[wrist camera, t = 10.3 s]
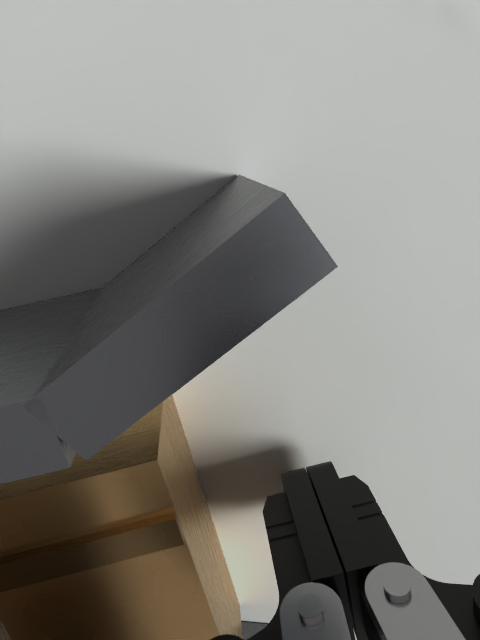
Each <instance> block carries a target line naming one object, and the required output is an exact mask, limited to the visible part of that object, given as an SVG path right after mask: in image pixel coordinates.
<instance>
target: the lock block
mask: <svg viewBox="0 0 480 640" xmlns="http://www.w3.org/2000/svg"><path fill="white" fill-rule="evenodd" d="M0 620H1V622H2V624H3V625H4V627H5V629H6V631H7V633H8V634H9V636H10V638H11V640H210V639H212V638H214V637H216V636H219V635H224V634H231V635H236V636H238V637H241V638H242V639H243V633H242V624H241V615H240V606H239V602H238V598H237V595H236V592H235V589H234V586H233V583H232V580H231V577H230V573H229V570H228V567H227V564H226V561H225V558H224V555H223V552H222V549H221V545H220V542H219V539H218V536H217V533H216V530H215V527H214V524H213V521H212V517H211V514H210V511H209V508H208V505H207V502H206V499H205V496H204V493H203V489H202V486H201V483H200V480H199V477H198V474H197V471H196V468H195V464H194V461H193V458H192V455H191V452H190V449H189V446H188V443H187V440H186V436H185V433H184V430H183V427H182V424H181V421H180V418H179V415H178V412H177V408H176V405H175V402H174V399H173V396H172V395H171V396H169V397H168V398H167V399H166V400H164V401H163V402H162V403H160V404H159V405H158V406H157V407H155V408H154V409H153V410H151V411H150V412H149V413H147V414H146V415H145V416H144V417H142V418H141V419H140V420H138V421H137V422H136V423H134V424H133V425H132V426H131V427H129V428H128V429H127V430H125V431H124V432H123V433H122V434H120V435H119V436H118V437H116V438H115V439H114V440H112V441H111V442H110V443H109V444H107V445H106V446H105V447H103V448H102V449H101V450H99V451H98V452H97V453H96V454H94V455H93V456H92V457H90V458H89V459H88V460H87V461H86V460H85V459H84V458H83V457H81V456H80V455H79V454H78V453H77V452H76V454H75V456H74V459H73V462H72V464H71V467H70V468H67V469H63V470H59V471H55V472H50V473H46V474H42V475H38V476H33V477H29V478H25V479H21V480H17V481H12V482H8V483H4V484H0Z"/></svg>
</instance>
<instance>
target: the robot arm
mask: <svg viewBox="0 0 480 640" xmlns="http://www.w3.org/2000/svg"><path fill="white" fill-rule="evenodd" d="M306 470H307V472H306ZM281 479H282V484H283V488H284V492H283V493H279V494H275V495H271V496H267V499H266V502H265V506H264V509H263V515H264V520H265V525H266V530H267V535H268V540H269V545H270V550H271V555H272V560H273V565H274V570H275V575H276V579H277V584H278V589H279V605H278V609H277V611H276V614H275V615H274V617H273V619H272V620H271V621H270V623H269V624H268V625H267V626H266V627H265V628H263V629H262V630H261V631H259V632H258V633H256V634H255V635H253V636H252V637H250V638H249V639H247V640H355V635H354V631H355V634H356V637H357V640H480V574H479V575H478V576H477V577H476V579H475V580H474V583H473V585H463V584H449V583H442V582H438V581H435V580H432V579H429V578H428V577H426V576H424V575H422V574H421V573H420V572H419V571H417V570H416V569H415V568H414V567H413V566H412V565H411V564H410V563H409V561H408V559H407V558H406V556H405V554H404V552H403V550H402V548H401V547H400V545H399V543H398V541H397V539H396V537H395V535H394V533H393V532H392V530H391V528H390V526H389V524H388V522H387V520H386V519H385V517H384V515H383V514H382V511H381V509H380V507H379V506H378V504H377V503H376V500H375V498H374V496H373V494H372V493H371V491H370V489H369V487H368V485H366V484H365V483H364V482H362V481H361V480H360V479H358V478H357V477H356V476H355V475H352V476H348V477H344V478H340V479H339V477H338V475H337V472H336V470H335V468H334V466H333V464H332V462H331V461H330V462H326V463H321V464H317V465H313V466H309V467H306V469H305V468H301V469H297V470H293V471H289V472H285V473H281ZM353 628H354V630H353ZM210 640H244V639H242V638H241V637H238V636H236V635H231V634H224V635H219V636H216V637H214V638H212V639H210Z"/></svg>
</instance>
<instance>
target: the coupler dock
mask: <svg viewBox="0 0 480 640" xmlns="http://www.w3.org/2000/svg"><path fill="white" fill-rule="evenodd" d="M337 267H338V266H337V265H336V263H335V262H334V261H333V259H332V258H331V256H330V255H329V254H328V252H327V251H326V250H325V248H324V247H323V245H322V244H321V243H320V241H319V240H318V238H317V237H316V236H315V234H314V233H313V232H312V230H311V229H310V227H309V226H308V225H307V223H306V222H305V220H304V219H303V218H302V216H301V215H300V214H299V212H298V211H297V209H296V208H295V207H294V205H293V204H292V202H291V201H290V200H289V198H288V197H287V196H286V194H285V193H283V192H281V191H278V190H276V189H273V188H271V187H268V186H266V185H263V184H261V183H258V182H256V181H253V180H251V179H248V178H246V177H244V176H241V175H238V176H237V177H235V178H234V179H233V180H232V181H231V182H229V183H228V184H227V185H226V186H225V187H223V188H222V189H221V190H220V191H219V192H217V193H216V194H215V195H214V196H213V197H211V198H210V199H209V200H208V201H207V202H205V203H204V204H203V205H202V206H201V207H199V208H198V209H197V210H196V211H195V212H193V213H192V214H191V215H190V216H189V217H187V218H186V219H185V220H184V221H183V222H181V223H180V224H179V225H178V226H177V227H175V228H174V229H173V230H172V231H171V232H169V233H168V234H167V235H166V236H165V237H163V238H162V239H161V240H160V241H159V242H157V243H156V244H155V245H154V246H153V247H151V248H150V249H149V250H148V251H147V252H145V253H144V254H143V255H142V256H141V257H139V258H138V259H137V260H136V261H135V262H134V263H132V264H131V265H130V266H129V267H128V268H126V269H125V270H124V271H123V272H122V273H120V274H119V275H118V276H117V277H116V278H114V279H113V280H112V281H111V282H110V283H108V284H107V285H106V286H105V287H104V288H100V289H95V290H91V291H87V292H82V293H78V294H73V295H69V296H64V297H60V298H56V299H51V300H47V301H42V302H38V303H33V304H29V305H25V306H20V307H16V308H11V309H7V310H2V311H0V484H4V483H8V482H12V481H17V480H21V479H25V478H29V477H33V476H38V475H42V474H46V473H50V472H55V471H59V470H63V469H67V468H70V467H71V464H72V462H73V459H74V456H75V454H76V452H77V453H78V454H79V455H80V456H81V457H83V458H84V459H85V460H86V461H87V460H88V459H89V458H90V457H92V456H93V455H94V454H96V453H97V452H98V451H99V450H101V449H102V448H103V447H105V446H106V445H107V444H109V443H110V442H111V441H112V440H114V439H115V438H116V437H118V436H119V435H120V434H122V433H123V432H124V431H125V430H127V429H128V428H129V427H131V426H132V425H133V424H134V423H136V422H137V421H138V420H140V419H141V418H142V417H144V416H145V415H146V414H147V413H149V412H150V411H151V410H153V409H154V408H155V407H157V406H158V405H159V404H160V403H162V402H163V401H164V400H166V399H167V398H168V397H169V396H171V395H172V394H173V393H175V392H176V391H177V390H179V389H180V388H181V387H182V386H184V385H185V384H186V383H188V382H189V381H190V380H192V379H193V378H194V377H195V376H197V375H198V374H199V373H201V372H202V371H203V370H204V369H206V368H207V367H208V366H210V365H211V364H212V363H214V362H215V361H216V360H217V359H219V358H220V357H221V356H223V355H224V354H225V353H227V352H228V351H229V350H230V349H232V348H233V347H234V346H236V345H237V344H238V343H239V342H241V341H242V340H243V339H245V338H246V337H247V336H249V335H250V334H251V333H252V332H254V331H255V330H256V329H258V328H259V327H260V326H262V325H263V324H264V323H265V322H267V321H268V320H269V319H271V318H272V317H273V316H274V315H276V314H277V313H278V312H280V311H281V310H282V309H284V308H285V307H286V306H287V305H289V304H290V303H291V302H293V301H294V300H295V299H297V298H298V297H299V296H300V295H302V294H303V293H304V292H306V291H307V290H308V289H309V288H311V287H312V286H313V285H315V284H316V283H317V282H319V281H320V280H321V279H322V278H324V277H325V276H326V275H328V274H329V273H330V272H332V271H333V270H334V269H335V268H337ZM241 624H242V633H243V639H244V640H247V639H249V638H250V637H252V636H253V635H255V634H256V633H258V632H259V631H261V630H262V629H263V628H265V627H266V626H267V625H268V624H261V623H250V622H241ZM0 640H11V638H10V636H9V634H8V633H7V631H6V629H5V627H4V625H3V624H2V622H1V620H0Z"/></svg>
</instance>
